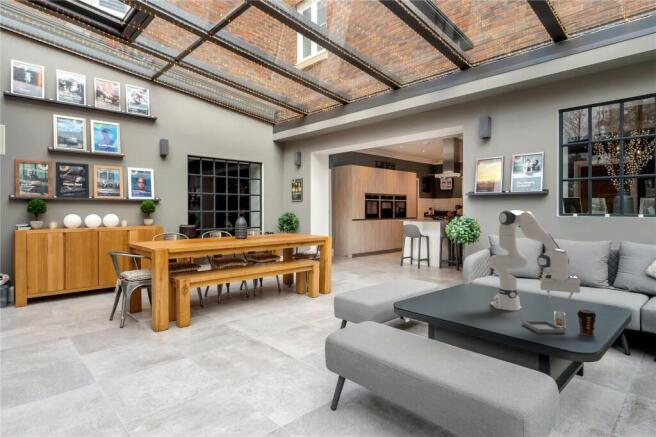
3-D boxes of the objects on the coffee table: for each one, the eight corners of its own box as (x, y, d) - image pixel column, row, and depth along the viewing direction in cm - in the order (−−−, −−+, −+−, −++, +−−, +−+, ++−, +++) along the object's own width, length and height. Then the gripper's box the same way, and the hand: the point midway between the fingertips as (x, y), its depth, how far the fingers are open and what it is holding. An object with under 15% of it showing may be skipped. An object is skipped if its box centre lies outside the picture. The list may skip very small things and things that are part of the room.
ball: (555, 323, 213) (555, 318, 213) (560, 324, 213) (560, 319, 213) (558, 324, 210) (558, 319, 210) (563, 325, 210) (563, 319, 210)
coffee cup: (588, 331, 201) (588, 308, 201) (600, 336, 193) (600, 312, 193) (574, 331, 201) (573, 309, 201) (585, 336, 192) (585, 313, 192)
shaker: (554, 324, 215) (554, 311, 215) (564, 325, 212) (564, 312, 212) (554, 326, 209) (554, 313, 209) (565, 328, 207) (565, 314, 207)
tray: (522, 325, 213) (522, 320, 213) (546, 324, 214) (546, 320, 214) (538, 333, 197) (538, 329, 197) (564, 333, 198) (564, 329, 198)
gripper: (579, 276, 208) (579, 299, 208) (539, 273, 218) (540, 295, 218) (581, 278, 203) (581, 301, 203) (540, 275, 213) (540, 297, 213)
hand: (559, 298), depth 210 cm, fingers open, 8 cm apart
